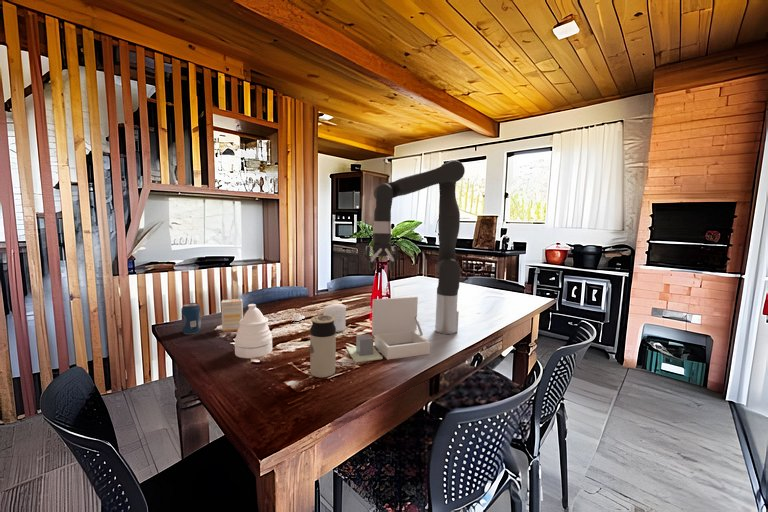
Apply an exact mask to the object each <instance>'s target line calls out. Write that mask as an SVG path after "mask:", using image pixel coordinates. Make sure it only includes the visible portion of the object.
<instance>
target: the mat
mask: <svg viewBox="0 0 768 512" xmlns="http://www.w3.org/2000/svg"><path fill="white" fill-rule="evenodd" d="M346 350H347V352H348V353H349V354H348V355H350V357H351V359H353V361H354V363H362V362H363V363H364V362H369V361H378V360H383V355H381V354H380V352H379V351H377V348H376V347H375V346H373V354H372V355H364V356H359V354H358V353H357V351H356V346H354V347H347V348H346Z"/></svg>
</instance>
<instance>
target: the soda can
mask: <svg viewBox="0 0 768 512" xmlns="http://www.w3.org/2000/svg"><path fill="white" fill-rule="evenodd" d="M201 329H202V317H201V306H200V305H199V303H198V302H189V303H187V302H186V303H184V304H183V305H182V307H181V331H182V332H183V334H184V335H194V334H198V333H199V332H200V331H201Z"/></svg>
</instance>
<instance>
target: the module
mask: <svg viewBox="0 0 768 512" xmlns="http://www.w3.org/2000/svg"><path fill="white" fill-rule="evenodd" d="M355 338H356V339H355V341H356V343H355V345H356V346H355V347H356V351H357V353H358V354H359V356H364V355H372V354H373V347H374V337H373V335H372V334H370V333H366V334H365V333H364V334H358V335H357V334H356V337H355Z"/></svg>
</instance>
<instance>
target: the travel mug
mask: <svg viewBox="0 0 768 512" xmlns="http://www.w3.org/2000/svg"><path fill="white" fill-rule="evenodd" d="M310 320H311V323H312V324H311V326H310V329H309V333H310V334H309V339H310V340H309V342H310V343H309V345H310V348H309V349H310V350H309V351H310V352H309V353H310V354H309V355H310V356H309V357H310V359H309V361H310V362H309V363H310V364H309V367H310V368H309V373H310V375H312V376H313V377H316V378H327V377H328V378H329V377H331V376H332V375H334V374H335V373H336V357H337V355H336V354H337V353H336V352H337V351H336V348H337V347H336V345H337V342H336V341H337V340H336V339H337V337H336V336H337V332H336V327H335V325H334V320H335V317H333V316H330V315H323V314H318V315H315V316H312V317H311V319H310Z"/></svg>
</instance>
